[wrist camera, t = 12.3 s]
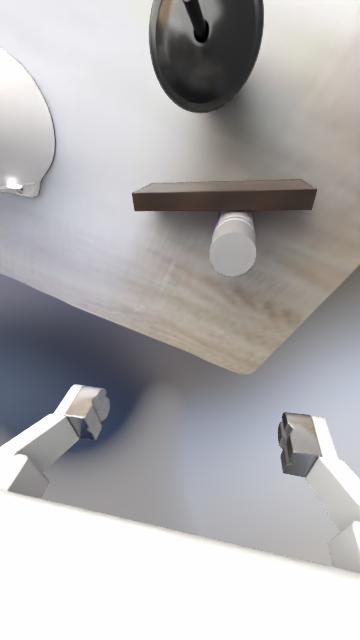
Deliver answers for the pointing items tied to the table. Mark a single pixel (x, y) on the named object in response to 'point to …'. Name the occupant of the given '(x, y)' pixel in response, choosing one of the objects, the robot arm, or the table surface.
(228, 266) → the container
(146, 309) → the table surface
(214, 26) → the drinking cup
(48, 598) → the robot arm
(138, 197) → the bar
